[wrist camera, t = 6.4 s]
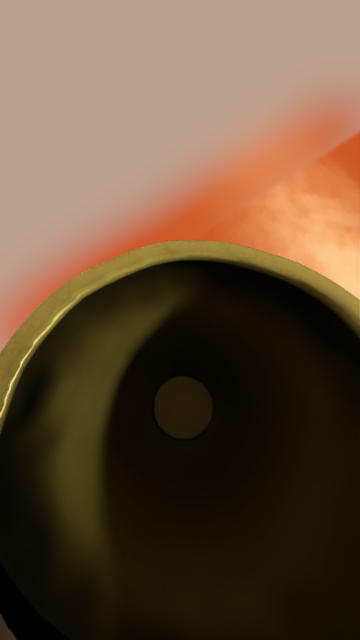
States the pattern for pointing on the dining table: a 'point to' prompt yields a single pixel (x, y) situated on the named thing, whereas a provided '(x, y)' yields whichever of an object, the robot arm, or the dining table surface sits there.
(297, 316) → the vase
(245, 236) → the dining table surface
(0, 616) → the robot arm
